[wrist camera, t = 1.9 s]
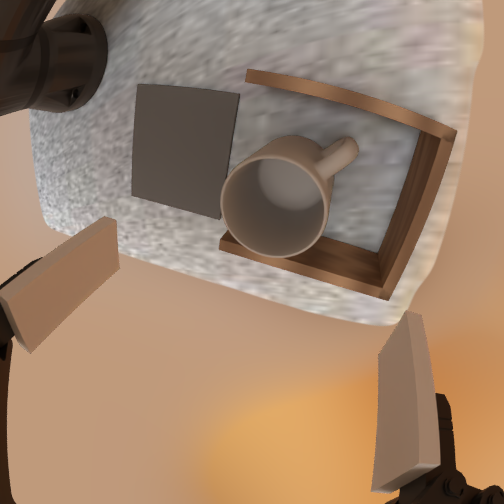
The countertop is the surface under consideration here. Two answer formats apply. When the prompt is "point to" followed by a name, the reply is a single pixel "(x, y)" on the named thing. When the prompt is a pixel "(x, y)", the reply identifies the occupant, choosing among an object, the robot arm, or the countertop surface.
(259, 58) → the countertop surface
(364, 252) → the open-sided wooden frame
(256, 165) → the mug
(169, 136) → the mat
